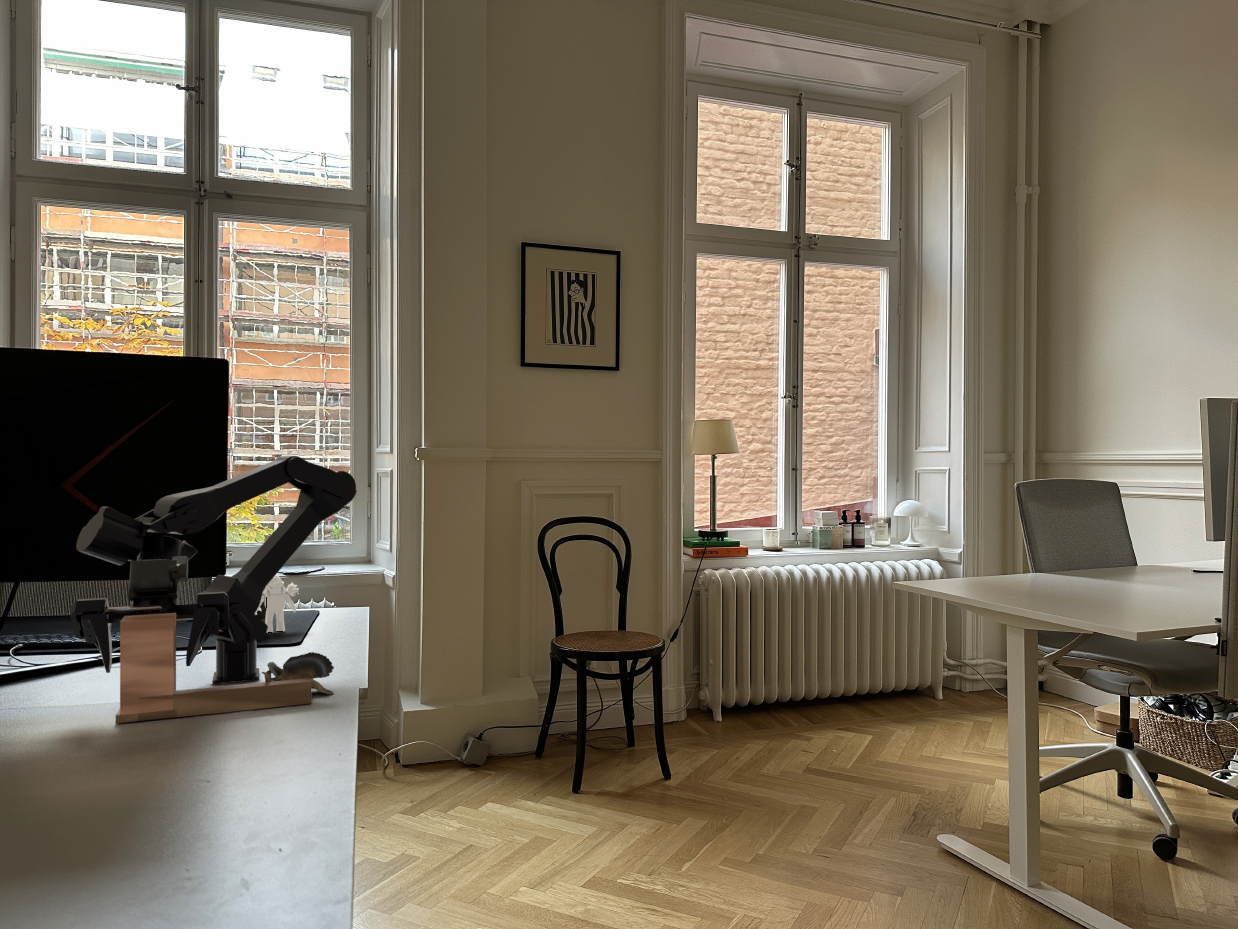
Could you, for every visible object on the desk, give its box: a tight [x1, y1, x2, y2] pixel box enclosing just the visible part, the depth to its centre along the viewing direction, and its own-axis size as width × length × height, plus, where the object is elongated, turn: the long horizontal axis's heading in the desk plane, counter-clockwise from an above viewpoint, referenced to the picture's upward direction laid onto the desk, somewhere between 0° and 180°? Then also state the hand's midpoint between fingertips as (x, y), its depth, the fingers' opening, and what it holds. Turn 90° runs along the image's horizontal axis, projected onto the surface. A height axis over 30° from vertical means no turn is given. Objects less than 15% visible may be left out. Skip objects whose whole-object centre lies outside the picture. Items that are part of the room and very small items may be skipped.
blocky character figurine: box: [255, 575, 300, 634], centre depth 168 cm, size 9×4×12 cm, turn 116°
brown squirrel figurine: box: [261, 651, 335, 695], centre depth 120 cm, size 8×7×9 cm
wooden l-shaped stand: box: [115, 613, 313, 724], centre depth 116 cm, size 10×24×13 cm, turn 113°
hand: (148, 667), depth 110 cm, fingers open, 9 cm apart
